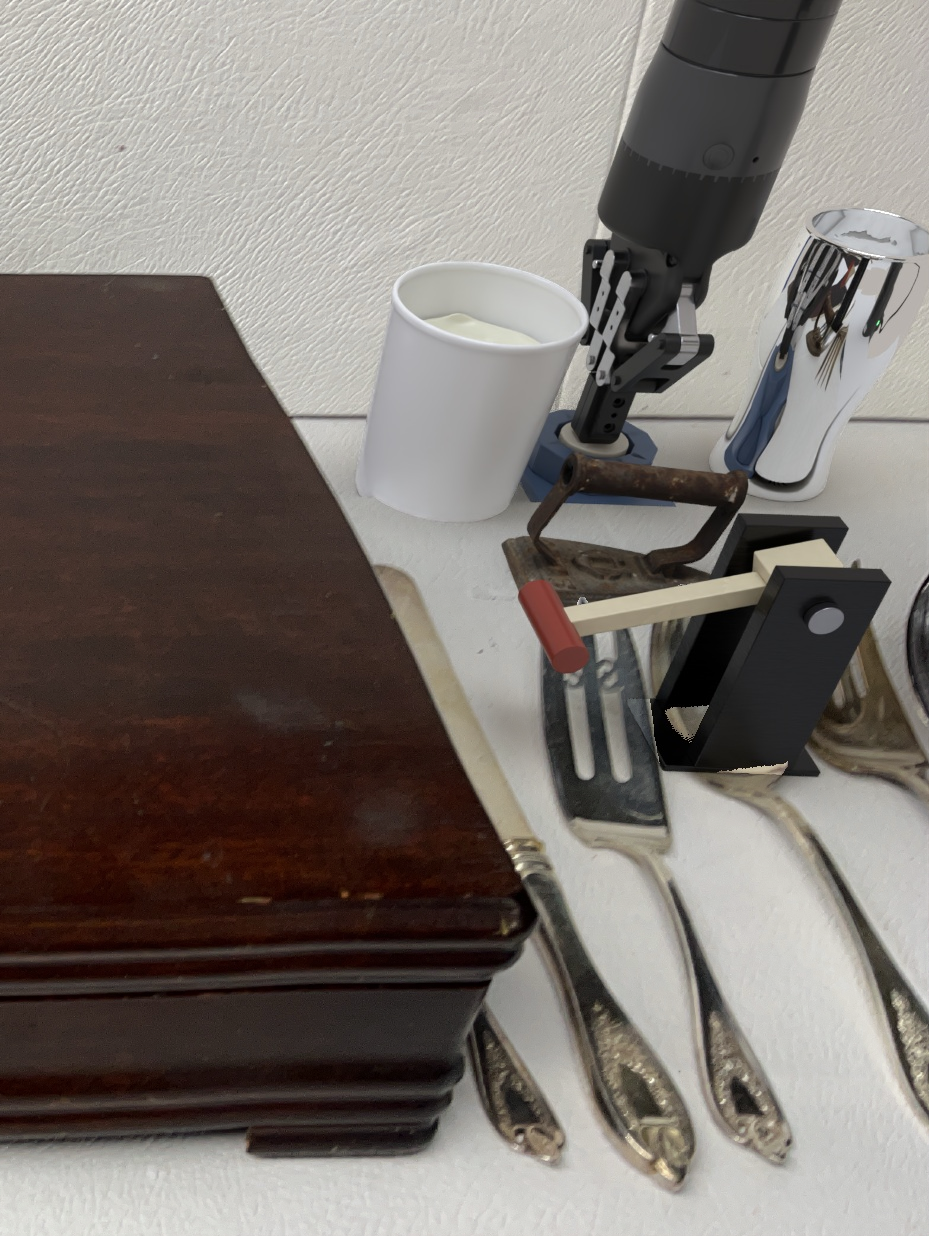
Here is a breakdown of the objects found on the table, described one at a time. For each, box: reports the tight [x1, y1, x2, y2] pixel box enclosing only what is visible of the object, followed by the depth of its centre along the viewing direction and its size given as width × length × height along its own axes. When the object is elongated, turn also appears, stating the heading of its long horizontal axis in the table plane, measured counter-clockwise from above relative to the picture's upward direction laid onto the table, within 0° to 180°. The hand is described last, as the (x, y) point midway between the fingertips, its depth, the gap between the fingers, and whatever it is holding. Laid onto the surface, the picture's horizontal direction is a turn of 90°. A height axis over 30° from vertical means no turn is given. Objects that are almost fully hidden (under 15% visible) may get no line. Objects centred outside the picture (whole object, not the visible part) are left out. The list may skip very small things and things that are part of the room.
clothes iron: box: [501, 452, 749, 608], centre depth 91 cm, size 7×11×10 cm, turn 84°
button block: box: [519, 408, 677, 508], centre depth 102 cm, size 10×8×2 cm
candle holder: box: [354, 260, 589, 524], centre depth 97 cm, size 10×10×12 cm
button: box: [558, 423, 629, 458], centre depth 101 cm, size 4×4×2 cm
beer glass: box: [708, 204, 929, 503], centre depth 98 cm, size 7×7×15 cm
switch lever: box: [517, 539, 846, 675], centre depth 78 cm, size 12×5×2 cm, turn 87°
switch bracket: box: [649, 512, 893, 778], centre depth 80 cm, size 7×6×12 cm
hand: (592, 436), depth 101 cm, fingers closed
